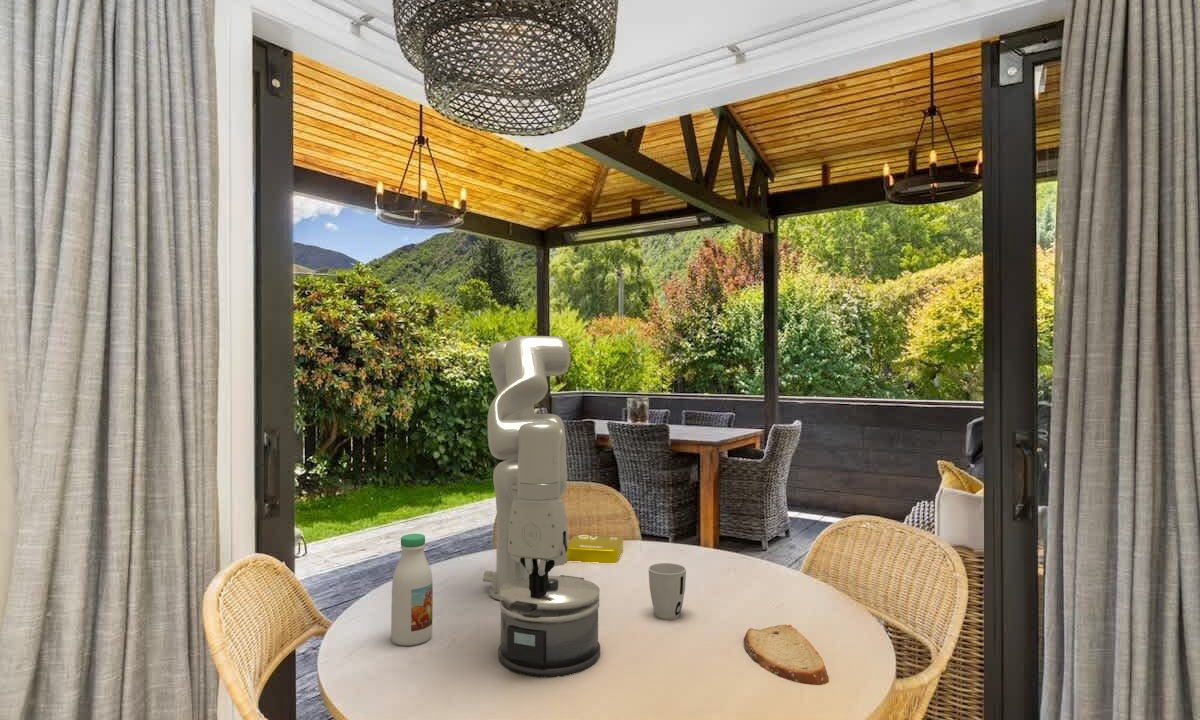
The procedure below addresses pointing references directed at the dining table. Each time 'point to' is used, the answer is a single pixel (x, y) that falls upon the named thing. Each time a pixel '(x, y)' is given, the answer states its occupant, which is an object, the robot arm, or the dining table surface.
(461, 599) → the dining table surface
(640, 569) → the dining table surface
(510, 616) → the pot
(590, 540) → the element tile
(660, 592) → the cup
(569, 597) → the lid
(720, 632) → the dining table surface
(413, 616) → the milk bottle
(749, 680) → the dining table surface
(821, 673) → the slice of bread
